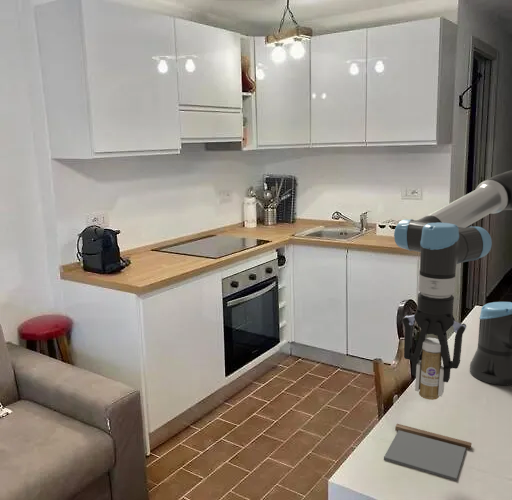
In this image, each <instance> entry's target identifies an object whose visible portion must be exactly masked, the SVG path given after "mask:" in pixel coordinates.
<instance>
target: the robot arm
mask: <svg viewBox="0 0 512 500" xmlns="http://www.w3.org/2000/svg"><path fill="white" fill-rule="evenodd" d="M503 211H512V169H511V170H508V171H505V172H501V173H499V174H496V175H494V176H492V177H491V176H490V178H487V179H485V180H483V181H482V182H480V183H479V184H478V185H477V187H475V190H472V191H471V192H469V193H468V192H467V194H465V195H463V196H461V197H459V198H457V199H456V200H454V201H452V202H450V203H448V204H445V205H444V206H442V207H441V208H439V209H437V210H435V211H433V212H431V213H429V214H427V215H425V216H423V217H421V218H419V219H417V220H414V219H413V218H411V219H402V220H400V221H398V223H397V224H396V226H395V228H394V231H393V232H394V233H393V239H394V242H395V244H396V246H397V247H399V248H401V249H403V250H408V251H410V252H416V253H420V258H419V259H420V261H419V272H418V273H419V274H418V289H417V290H418V294H417V305H416V312H415V313H414V314H412V315H409V314H406V315H405V316H404V317H403V318H402V324H403V325H404V342H403V344H404V345H403V346H404V347H403V348H404V349H403V357H404V359H405V360H409V361H410V362H411V375H412V376H415V383H414V387H415V389H414V391H416V392H419V391H420V373H421V360H422V359H420V358H421V356H422V345H423V342H424V340H425V339H426V338H427V336H428V335H434V336H436V337H437V339H438V340H439V343H440V345H441V355H442V360H441V362H442V364H441V368H440V376H439V390H438V396H439V397H443V395H444V392H445V383H449V380H450V378H451V369H458V368H459V367H460V364H461V356H462V345H463V344H462V343H463V336H464V335H463V334H464V333H465V330H466V329H467V324H466V323H460V322H458V321H456V320H455V318H454V313H453V312H454V303H455V301H454V299H455V298H454V297H455V296H453V295H454V294H455V290H456V289H455V287H456V278H457V277H456V275H457V274H456V271H457V265H459V264H462V263H466V262H471V261H477V260H479V259H481V258H484V257H486V256H487V255H488V254H489V253H490V251H491V249H492V242H493V241H492V237H491V235H490V233H489V232H488V231H487V230H486V229H485V228H483V227H482V226H471V225H472V224H475V223H476V222H478V221H479V220H481V219H483V218H485V217H487V216H489V214H492V215H493V214H494V215H495V214H498V213H500V212H503ZM478 319H479V324H478V325H479V326H478V336H477V337H478V338H477V339H478V340H477V349H476V350H475V353H474V355H473V357H472V360H471V361H470V364H469V373H470V374H471V376H473V377H475V378H476V379H477V380H479V381H482V382H484V383H489V384H493V385H496V386H497V385H499V386H512V302H511V301H493V302H488V303H485V304H484V305H483V306H482V307H481V309H480V314H479V317H478ZM415 322H416V324H418V326H419V327H420V333H419V337H418V340H417V342H416V346H415V349H414V352H413V338H414V337H413V332H414V328H413V327H414V324H415ZM452 327H453V332H454V333H456V334H455V336H454V344H453V355H452V356H453V357H452V359H451V355H450V348H449V344H448V343H449V342H448V338H447V336H448V335H447V331H449V330H450V328H452Z"/></svg>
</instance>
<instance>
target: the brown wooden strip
mask: <svg viewBox="0 0 512 500" xmlns="http://www.w3.org/2000/svg"><path fill="white" fill-rule="evenodd" d="M394 429H395V431H398V430H400V431H404V432H407V433H411V434H415V435H419V436H423V437H426V438H430V439H434V440H438V441H442V442H445V443H449V444H453V445H457V446H461V447H464V448H466V449H467V450H471V448H472V444H473V443H472V442H470V441H466V440H463V439H458V438H456V437H455V438H454V437H450V436H447V435H443V434H441V433H440V434H439V433H435V432H432V431H427V430H425V429H421V428H420V429H419V428H416V427H412V426H408V425H404V424H401V423H396V425H395V427H394Z"/></svg>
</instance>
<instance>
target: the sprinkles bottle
mask: <svg viewBox="0 0 512 500" xmlns="http://www.w3.org/2000/svg"><path fill="white" fill-rule="evenodd" d="M420 360H421V373H420V389H419V391H418V395H419V397H421V398H423V399H425V400H429V401H430V400H431V401H434V400H437V399H439V397H440V396H438V390H439V376H440V368H441V366H442V365H443V362H442V355H441V345H440V343H439V340H438V338H436V337H426V339H425V340H424V342H423V345H422V352H421V359H420Z"/></svg>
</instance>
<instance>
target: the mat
mask: <svg viewBox="0 0 512 500" xmlns="http://www.w3.org/2000/svg"><path fill="white" fill-rule="evenodd" d="M465 453H466V448H464V447H461V446H457V445H453V444H449V443H445V442H442V441H438V440H434V439H430V438H426V437H423V436H419V435H415V434H411V433H407V432H404V431H400V430H397V432H396V434H395V436H394V438H393V440H392V441H391V443H390V445H389V447H388V448H387V450H386V453H385V454H384V456H383V460H385V461H387V462H392V463H395V464H398V465H401V466H404V467H408V468H411V469H415V470H419V471H422V472H425V473H429V474H431V475H436V476H438V477H442V478H447V479H449V480H453V481H458V476H459V473H460V470H461V467H462V463H463V460H464V457H465Z"/></svg>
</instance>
